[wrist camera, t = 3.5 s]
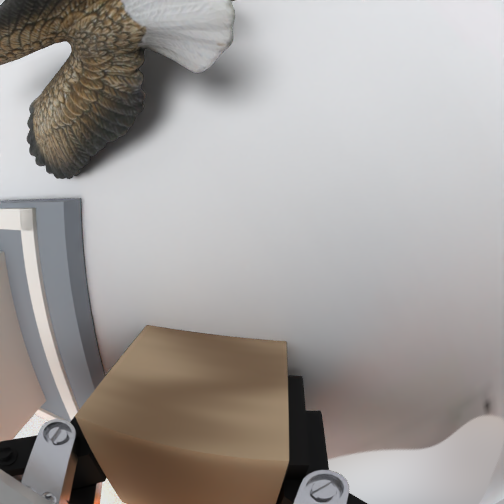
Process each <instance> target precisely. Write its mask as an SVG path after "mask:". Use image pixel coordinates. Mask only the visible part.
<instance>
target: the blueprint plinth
mask: <svg viewBox="0 0 504 504" xmlns="http://www.w3.org/2000/svg"><path fill="white" fill-rule="evenodd" d="M104 377H105V374H104V371H103V367H102V363H101V359H100V354H99V350H98V345H97V341H96V336H95V331H94V326H93V320H92V315H91V309H90V303H89V296H88V289H87V282H86V273H85V264H84V254H83V241H82V225H81V198H80V199H36V200H12V201H0V442H1V441H5V440H12V439H13V438H14V437H15V436H16V435H17V433H18V432H19V431H20V430H21V429H22V428H23V426H24V425H25V424H26V423H27V422H28V421H29V420H30V418H31V417H32V416H33V415H34V414H35V415H37V416H39V417H41V418H43V419H44V420H46V421H50V420H53V419H63V420H66V421H68V422H71V420H72V419H73V418H74V416H75V415H76V414H77V412H78V411H79V410H80V408H81V407H82V406H83V404H84V403H85V402H86V401H87V399H88V398H89V397H90V395H91V394H92V393H93V391H94V390H95V389H96V388H97V386H98V385H99V384H100V383H101V381H102V380H103V379H104Z"/></svg>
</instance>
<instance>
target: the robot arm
mask: <svg viewBox="0 0 504 504" xmlns="http://www.w3.org/2000/svg"><path fill="white" fill-rule="evenodd" d="M288 411H289V463H288V466H287V470H286V473H285V476H284V480H283V483H282V486H281V489H280V492H279V495H278V498H277V501H276V504H367V503H365V502H363V501H362V500H360V499H359V498H357V497H355V496H353V495H352V494H350V493H349V484H348V482H347V480H346V479H345V478H344V477H343V476H342V475H340V474H339V473H337V472H334V471H331V470H329V468H328V459H327V451H326V443H325V436H324V428H323V421H322V415H321V412H320V411H306V409H305V398H304V387H303V378H302V376H288ZM106 478H107V477H106V475H105V474H104V472H103V470H102V469H101V467H100V465H99V463H98V461H97V460H96V458H95V456H94V454H93V452H92V450H91V448H90V447H89V445H88V443H87V441H86V439H85V437H84V435H83V432H82V430H81V428H80V426H79V424H78V422H77V419H76V417H75V416H74V418H73V419H72V420H71V422H68V421H66V420H63V419H53V420H50V421H48V422H46V423H45V424H44V425H43V426H42V427H41V429H40V431H39V433H38V435H37V436H32V437H26V438H19V439H13V440H5V441H1V442H0V504H100V497H101V489H102V482H104V481H105V480H106Z"/></svg>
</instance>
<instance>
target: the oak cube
mask: <svg viewBox="0 0 504 504" xmlns="http://www.w3.org/2000/svg"><path fill="white" fill-rule="evenodd" d="M75 417H76V419H77V422H78V424H79V426H80V428H81V430H82V432H83V435H84V437H85V439H86V441H87V443H88V445H89V447H90V448H91V450H92V452H93V454H94V456H95V458H96V460H97V461H98V463H99V465H100V467H101V469H102V470H103V472H104V474H105V475H106V477H107V479H108V480H109V482H110V484H111V485H112V487H113V488H114V490H115V491H116V493H117V494H118V496H119V497H120V499H121V500H122V502H124V503H127V504H276V501H277V498H278V495H279V492H280V489H281V486H282V483H283V480H284V476H285V473H286V470H287V466H288V463H289V411H288V371H287V342H286V341H274V340H262V339H250V338H240V337H230V336H221V335H213V334H205V333H197V332H190V331H182V330H176V329H169V328H163V327H156V326H150V325H147V326H146V327H145V328H144V329H143V330H142V332H141V333H140V334H139V335H138V336H137V338H136V339H135V340H134V341H133V343H132V344H131V345H130V346H129V348H128V349H127V350H126V351H125V352H124V354H123V355H122V356H121V357H120V359H119V360H118V361H117V362H116V364H115V365H114V366H113V367H112V369H111V370H110V371H109V372H108V374H107V375H106V376H105V377H104V379H103V380H102V381H101V383H100V384H99V385H98V386H97V388H96V389H95V390H94V391H93V393H92V394H91V395H90V397H89V398H88V399H87V401H86V402H85V403H84V404H83V406H82V407H81V408H80V410H79V411H78V412H77V414H76V415H75Z"/></svg>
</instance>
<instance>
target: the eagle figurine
mask: <svg viewBox="0 0 504 504" xmlns="http://www.w3.org/2000/svg"><path fill="white" fill-rule="evenodd" d="M231 1H235V0H5V1H4V2H3V3H2V4H1V5H0V65H2V64H5V63H8V62H11V61H14V60H17V59H20V58H22V57H24V56H27V55H29V54H31V53H33V52H35V51H38V50H40V49H43V48H45V47H48V46H50V45H52V44H54V43H59V42H63V41H67V42H68V43H69V44H70V45H71V49H72V52H71V54H70V56H69V58H68V59H67V61H66V62H65V63H64V65H63V66H62V67H61V69H60V70H59V71H58V73H57V74H56V75H55V76H54V78H53V79H52V80H51V81H50V83H49V84H48V85H47V86H46V88H45V89H44V90H43V92H42V94H41V95H40V96H39V97H38V98H36V99H35V100H34V101H33V102H32V104H31V105H30V108H29V110H30V117H29V120H28V123H27V124H28V127H29V128H30V131H29V133H28V136H27V142H28V143H29V144H30V149H29V152H30V154H31V155H32V156H35V157H36V160H35V161H36V164H37V165H39V166H44V165H46V171H47V172H48V173H49V174H50V173H53V174H54V176H55V177H56V178H61V179H64V178H68V179H70V178H72V177H73V175H75V176H76V175H78V174H79V173H80V171H79V169H81V168H83V167H84V166H85V165H87V164H88V163H89V161H90V156H95V155H96V154H97V152H98V151H100V150H102V149H103V148H104V147H105V145H106V142H108V141H110V142H113V141H115V140H116V139H117V138H118V137H120V136H123V135H125V134H126V133H127V130H128V129H129V128H130V127H131V126H132V125H133V123H134V121H135V117H136V116H137V115H138V114H139V113H140V112H141V111H142V110H143V108H144V104H143V101H144V99H145V97H146V94H145V92H144V91H143V90H142V88H141V84H142V82H143V74H142V73H141V72H140V71H139V67H140V66H141V65H142V64H143V62H144V60H145V59H144V50H145V49H150V50H153V51H155V52H157V53H160V54H162V55H164V56H165V57H168V58H170V59H172V60H174V61H175V62H177V63H178V64H180V65H182V66H183V67H185V68H187V69H188V70H190V71H192V72H194V73H200V72H204V71H205V70H207V69H208V68H210V67H211V66H212V65H213V64H214V63H215V61H216V60H217V58H218V57H219V56H220V55H221V53H223V52H224V50H225V49H227V48H228V47H229V46H230V45H231V43H232V41H233V31H232V27H233V23H234V18H235V10H234V8H233V5H232V3H231Z"/></svg>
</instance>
